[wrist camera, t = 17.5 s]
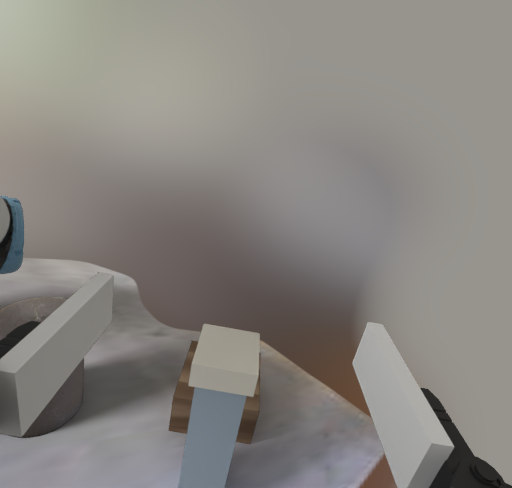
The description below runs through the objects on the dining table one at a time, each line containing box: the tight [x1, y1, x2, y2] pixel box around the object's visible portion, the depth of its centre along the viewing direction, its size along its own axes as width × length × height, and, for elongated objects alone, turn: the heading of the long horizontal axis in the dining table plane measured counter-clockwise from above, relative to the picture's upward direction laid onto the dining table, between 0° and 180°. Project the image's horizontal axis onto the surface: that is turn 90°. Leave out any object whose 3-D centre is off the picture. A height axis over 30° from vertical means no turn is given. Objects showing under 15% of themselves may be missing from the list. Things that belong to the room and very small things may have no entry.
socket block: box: [169, 341, 260, 444], centre depth 46 cm, size 11×11×6 cm
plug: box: [178, 324, 260, 488], centre depth 32 cm, size 6×6×20 cm
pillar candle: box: [0, 297, 84, 438], centre depth 39 cm, size 10×10×15 cm
